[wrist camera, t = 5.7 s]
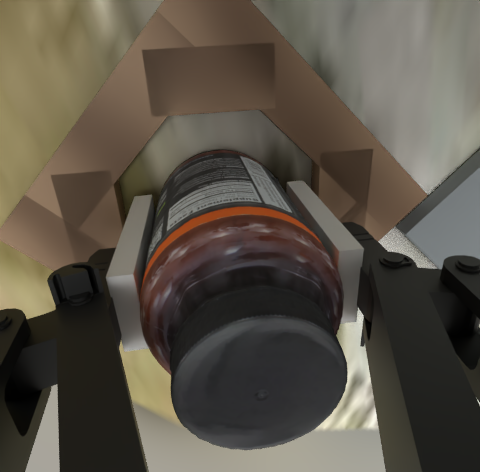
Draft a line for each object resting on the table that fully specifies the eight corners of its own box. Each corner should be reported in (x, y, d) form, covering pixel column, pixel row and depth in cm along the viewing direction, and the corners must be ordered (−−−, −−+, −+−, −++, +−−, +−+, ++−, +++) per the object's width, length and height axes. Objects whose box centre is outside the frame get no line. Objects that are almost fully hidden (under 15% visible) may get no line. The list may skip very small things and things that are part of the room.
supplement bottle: (280, 255, 20) (375, 464, 10) (166, 266, 19) (143, 499, 9) (281, 141, 17) (413, 268, 7) (149, 149, 17) (94, 300, 7)
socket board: (200, -45, 14) (201, -53, 13) (414, 187, 19) (427, 195, 18) (6, 225, 17) (-6, 236, 16) (232, 358, 23) (234, 373, 22)
